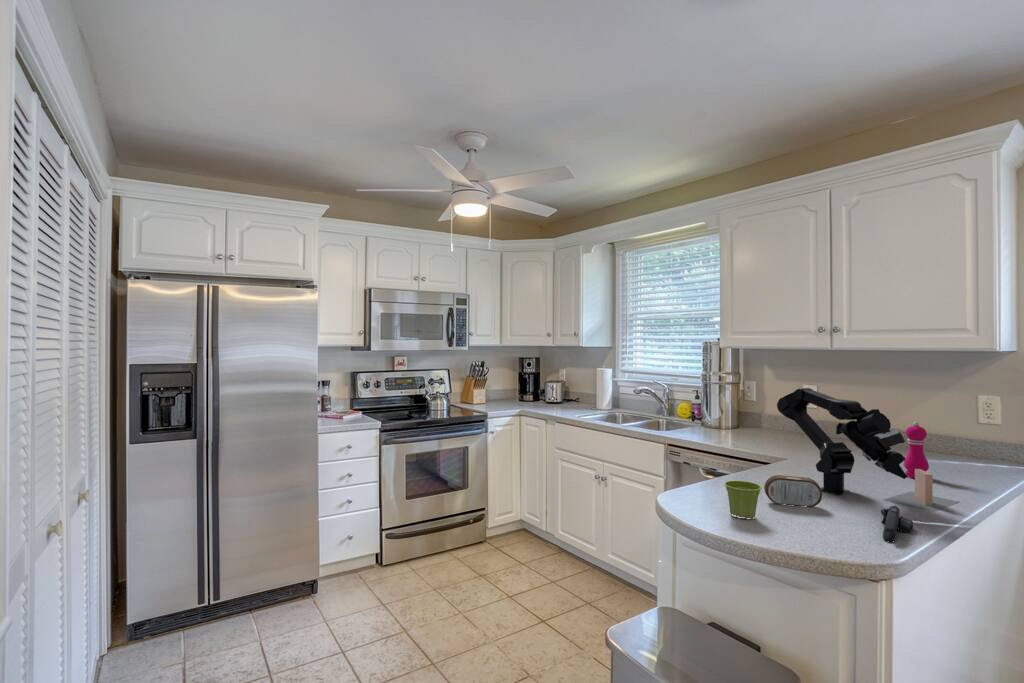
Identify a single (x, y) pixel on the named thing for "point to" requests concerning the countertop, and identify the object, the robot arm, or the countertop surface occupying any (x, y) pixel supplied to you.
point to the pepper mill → (915, 450)
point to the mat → (910, 500)
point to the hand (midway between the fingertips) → (905, 477)
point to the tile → (923, 487)
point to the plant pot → (743, 497)
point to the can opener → (894, 523)
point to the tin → (793, 491)
